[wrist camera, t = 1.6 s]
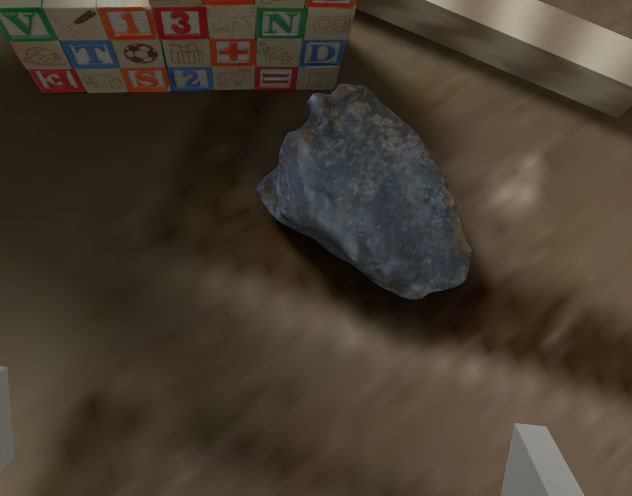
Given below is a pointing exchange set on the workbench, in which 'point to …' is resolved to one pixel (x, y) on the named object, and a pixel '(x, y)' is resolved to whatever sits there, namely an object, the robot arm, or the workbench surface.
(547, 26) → the plank
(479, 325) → the workbench surface
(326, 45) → the stack of blocks
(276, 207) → the rock
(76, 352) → the workbench surface
